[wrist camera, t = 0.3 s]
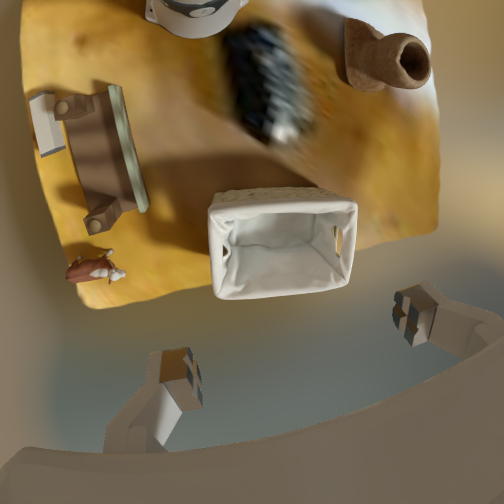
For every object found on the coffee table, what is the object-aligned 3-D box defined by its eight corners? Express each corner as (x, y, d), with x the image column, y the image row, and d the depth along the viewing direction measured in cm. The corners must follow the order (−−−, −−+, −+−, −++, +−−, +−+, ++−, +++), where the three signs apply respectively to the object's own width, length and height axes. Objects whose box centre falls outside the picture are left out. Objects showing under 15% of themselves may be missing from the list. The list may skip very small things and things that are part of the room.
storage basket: (210, 263, 62) (214, 304, 48) (204, 185, 54) (205, 208, 41) (322, 253, 65) (350, 289, 52) (327, 179, 58) (362, 200, 44)
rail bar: (39, 98, 41) (28, 98, 37) (53, 91, 41) (43, 90, 37) (51, 154, 46) (41, 157, 42) (65, 148, 46) (55, 151, 42)
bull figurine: (132, 265, 59) (124, 285, 52) (77, 270, 57) (64, 290, 50) (128, 245, 57) (119, 264, 50) (72, 252, 55) (57, 270, 48)
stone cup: (390, 97, 51) (437, 98, 38) (340, 88, 50) (381, 83, 36) (390, 33, 45) (434, 21, 31) (340, 19, 43) (378, -1, 30)
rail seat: (65, 109, 43) (37, 110, 33) (121, 86, 44) (102, 80, 34) (95, 219, 53) (75, 241, 44) (150, 203, 54) (138, 223, 44)
